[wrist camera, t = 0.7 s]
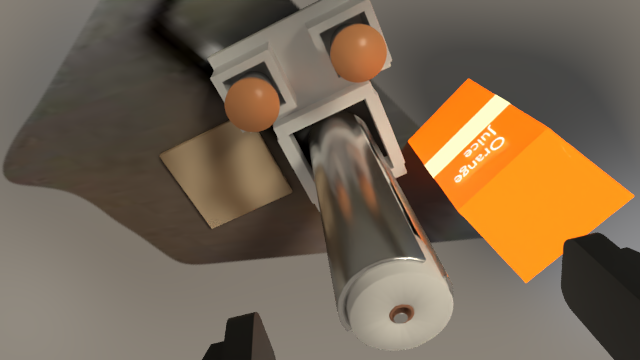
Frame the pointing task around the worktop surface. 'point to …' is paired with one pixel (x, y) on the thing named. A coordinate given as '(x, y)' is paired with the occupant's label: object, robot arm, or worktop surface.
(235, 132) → the mat
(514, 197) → the orange juice
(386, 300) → the silver metal cylinder
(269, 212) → the worktop surface
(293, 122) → the housing
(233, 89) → the plunger
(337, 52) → the plunger
